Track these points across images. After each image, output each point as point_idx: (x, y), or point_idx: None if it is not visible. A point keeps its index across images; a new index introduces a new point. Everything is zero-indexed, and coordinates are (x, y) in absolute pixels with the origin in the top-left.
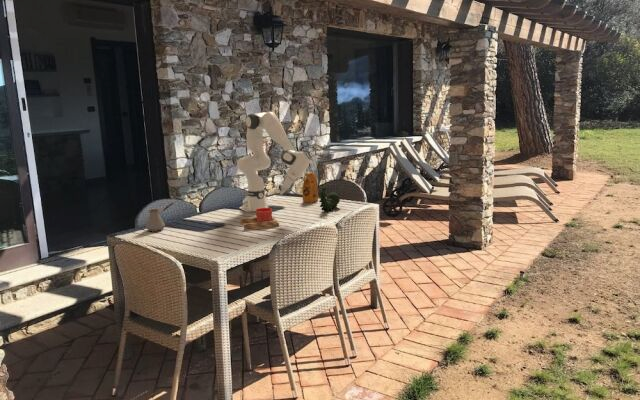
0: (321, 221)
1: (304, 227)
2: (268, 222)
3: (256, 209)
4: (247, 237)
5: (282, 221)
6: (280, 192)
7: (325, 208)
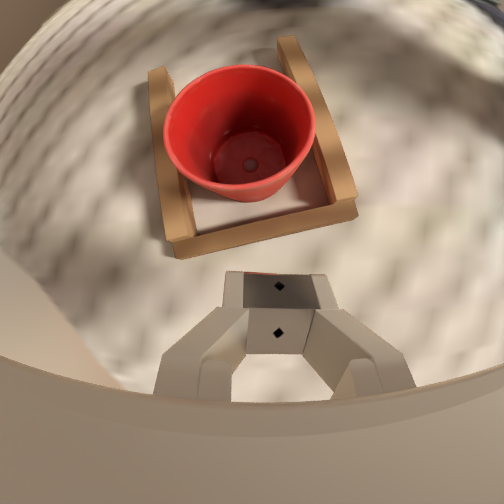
0: None
1: None
2: (159, 189)
3: (259, 68)
4: (51, 136)
5: None
6: (224, 288)
7: None
